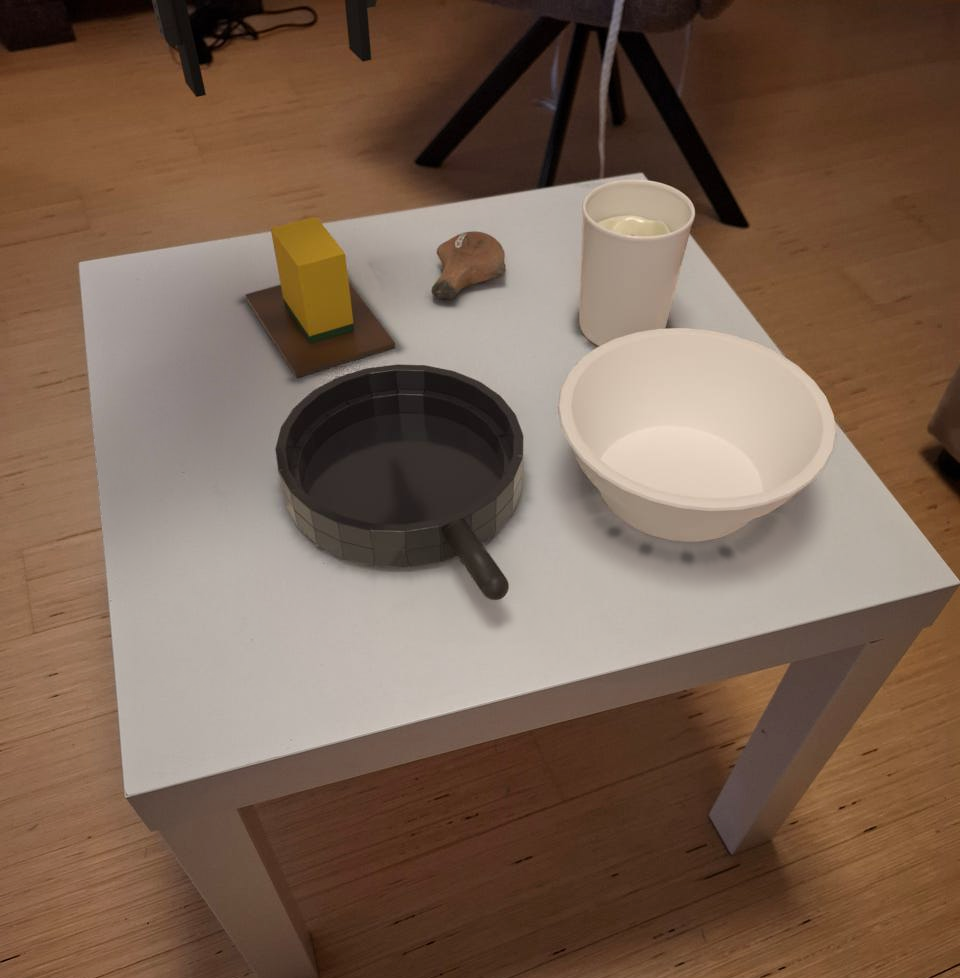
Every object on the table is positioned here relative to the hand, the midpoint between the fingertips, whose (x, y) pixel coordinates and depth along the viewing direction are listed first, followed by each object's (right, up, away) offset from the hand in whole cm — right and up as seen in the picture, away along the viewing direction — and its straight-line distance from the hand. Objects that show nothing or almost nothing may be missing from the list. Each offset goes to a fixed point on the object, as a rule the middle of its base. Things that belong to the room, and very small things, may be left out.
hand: (280, 71), depth 74 cm
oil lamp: (+14, -8, +23) cm, 28 cm away
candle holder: (+29, -14, +18) cm, 37 cm away
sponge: (0, -13, +18) cm, 22 cm away
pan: (+9, -31, +5) cm, 33 cm away
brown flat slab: (0, -14, +18) cm, 23 cm away
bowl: (+32, -32, +5) cm, 45 cm away
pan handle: (+15, -39, -4) cm, 42 cm away
